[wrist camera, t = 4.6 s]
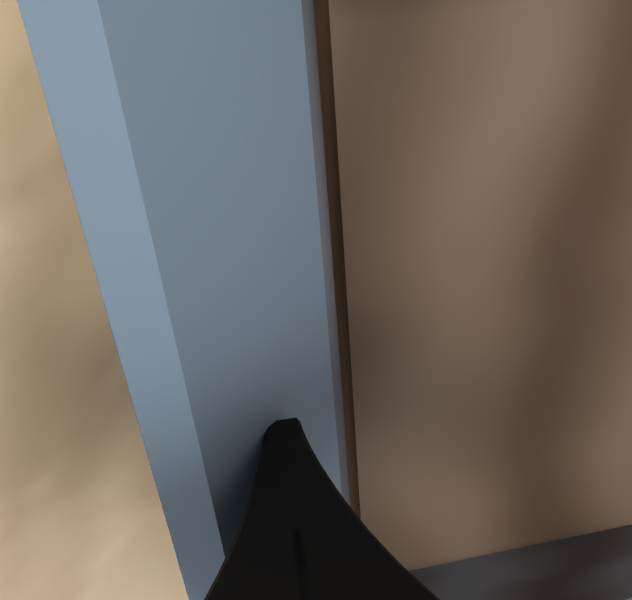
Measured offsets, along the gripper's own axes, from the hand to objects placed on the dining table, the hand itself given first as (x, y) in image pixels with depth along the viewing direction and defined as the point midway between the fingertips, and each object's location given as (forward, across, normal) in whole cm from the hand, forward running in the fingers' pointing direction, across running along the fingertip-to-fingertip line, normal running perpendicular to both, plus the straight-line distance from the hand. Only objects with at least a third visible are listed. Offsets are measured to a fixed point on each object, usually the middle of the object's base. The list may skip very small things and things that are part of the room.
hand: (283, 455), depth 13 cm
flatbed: (+5, -8, 0) cm, 10 cm away
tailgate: (+3, -2, 0) cm, 3 cm away
